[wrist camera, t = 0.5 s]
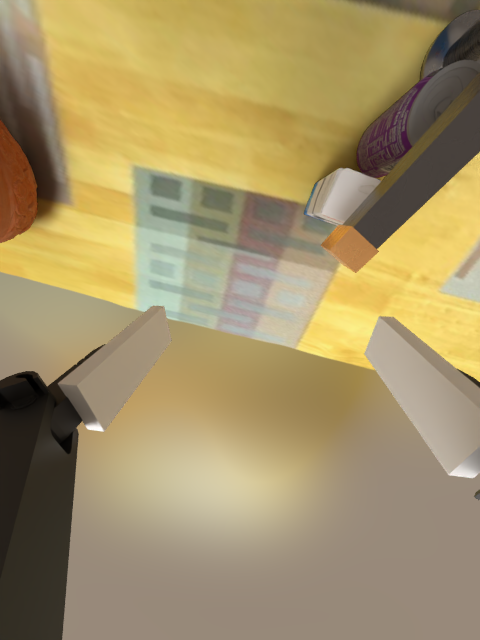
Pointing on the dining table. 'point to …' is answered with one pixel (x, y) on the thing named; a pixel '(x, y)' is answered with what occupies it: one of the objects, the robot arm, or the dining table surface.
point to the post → (454, 43)
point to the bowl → (15, 188)
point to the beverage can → (411, 117)
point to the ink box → (339, 195)
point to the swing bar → (411, 181)
